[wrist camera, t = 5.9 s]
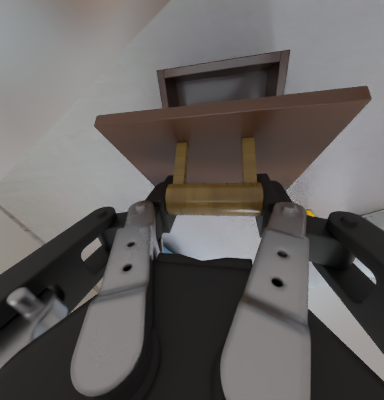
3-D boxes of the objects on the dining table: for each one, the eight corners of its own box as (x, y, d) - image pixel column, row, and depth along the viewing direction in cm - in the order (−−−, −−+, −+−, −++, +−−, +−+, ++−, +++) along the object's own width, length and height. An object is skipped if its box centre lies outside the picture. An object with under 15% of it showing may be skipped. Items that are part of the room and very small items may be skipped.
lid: (96, 115, 10) (70, 202, 8) (368, 84, 7) (409, 203, 6) (177, 204, 27) (174, 238, 25) (267, 204, 24) (270, 242, 23)
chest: (171, 77, 24) (156, 70, 19) (274, 61, 21) (290, 49, 16) (185, 187, 33) (178, 204, 27) (259, 186, 30) (267, 205, 25)
